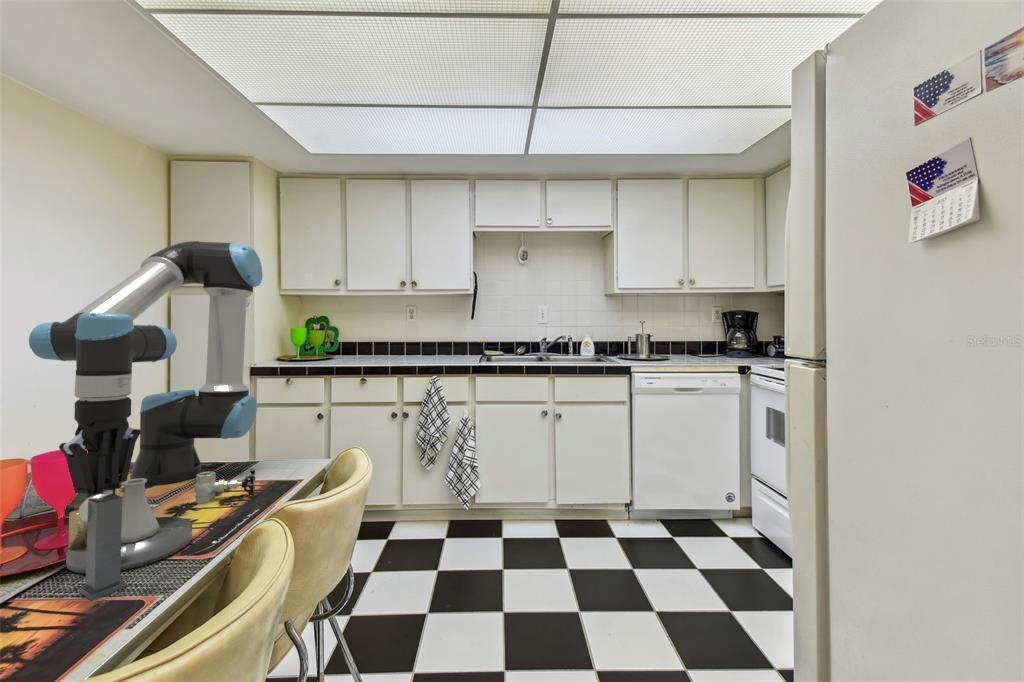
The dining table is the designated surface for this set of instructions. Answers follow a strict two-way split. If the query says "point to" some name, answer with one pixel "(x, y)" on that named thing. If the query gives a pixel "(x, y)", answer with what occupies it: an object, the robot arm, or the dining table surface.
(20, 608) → the dining table surface
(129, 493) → the flask
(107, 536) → the post
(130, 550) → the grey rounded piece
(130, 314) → the robot arm
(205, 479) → the valve
